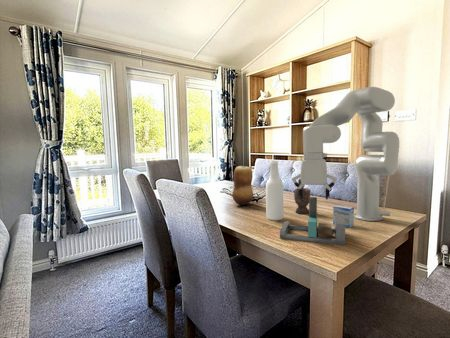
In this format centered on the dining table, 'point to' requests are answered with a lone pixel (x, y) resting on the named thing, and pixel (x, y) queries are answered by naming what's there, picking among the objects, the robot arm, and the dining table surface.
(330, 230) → the walnut block
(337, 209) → the medicine box
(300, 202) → the brown bust statue
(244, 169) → the butternut squash
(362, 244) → the dining table surface
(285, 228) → the vise bed
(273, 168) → the alcohol
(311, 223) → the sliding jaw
